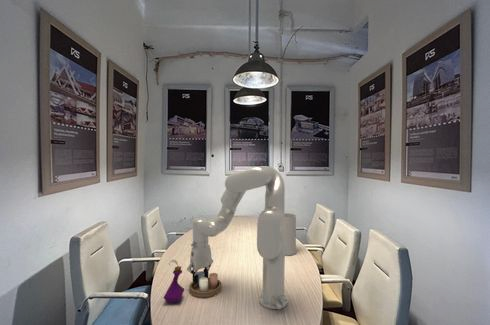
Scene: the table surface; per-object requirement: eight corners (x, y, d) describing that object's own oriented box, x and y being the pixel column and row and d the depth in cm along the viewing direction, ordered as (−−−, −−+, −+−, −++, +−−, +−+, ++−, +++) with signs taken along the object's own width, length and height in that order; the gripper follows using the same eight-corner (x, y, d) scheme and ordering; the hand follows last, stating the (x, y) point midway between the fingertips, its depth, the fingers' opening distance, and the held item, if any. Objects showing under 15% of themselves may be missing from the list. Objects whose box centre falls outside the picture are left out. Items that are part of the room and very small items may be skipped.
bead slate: (206, 284, 126) (206, 272, 126) (199, 288, 123) (199, 275, 123) (201, 282, 129) (201, 270, 128) (194, 285, 126) (194, 273, 126)
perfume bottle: (184, 295, 118) (184, 256, 117) (181, 305, 110) (180, 263, 110) (168, 296, 117) (167, 257, 117) (163, 305, 110) (163, 263, 110)
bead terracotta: (209, 289, 122) (209, 277, 121) (208, 285, 125) (208, 273, 125) (218, 288, 123) (218, 276, 123) (216, 284, 127) (216, 272, 126)
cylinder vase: (295, 256, 164) (295, 217, 164) (276, 255, 167) (276, 217, 166) (295, 249, 177) (296, 213, 176) (277, 248, 179) (277, 213, 179)
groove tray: (223, 295, 118) (223, 290, 118) (190, 300, 114) (190, 295, 114) (218, 280, 132) (218, 275, 132) (188, 284, 128) (188, 279, 128)
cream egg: (208, 293, 118) (208, 280, 118) (199, 295, 117) (199, 281, 117) (207, 289, 122) (207, 276, 122) (198, 290, 121) (198, 278, 121)
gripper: (190, 250, 116) (190, 289, 117) (219, 241, 129) (219, 276, 129) (181, 246, 122) (181, 283, 122) (209, 238, 134) (209, 272, 134)
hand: (200, 279), depth 126 cm, fingers open, 5 cm apart
